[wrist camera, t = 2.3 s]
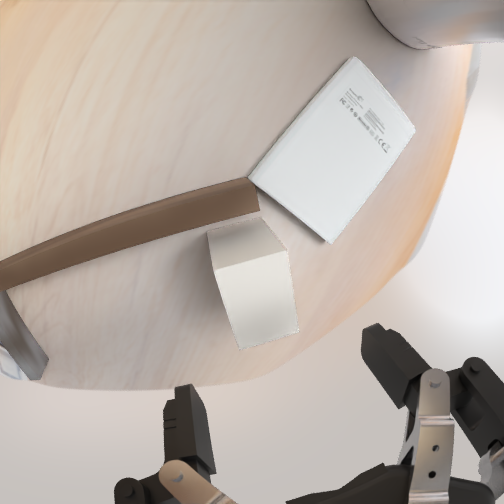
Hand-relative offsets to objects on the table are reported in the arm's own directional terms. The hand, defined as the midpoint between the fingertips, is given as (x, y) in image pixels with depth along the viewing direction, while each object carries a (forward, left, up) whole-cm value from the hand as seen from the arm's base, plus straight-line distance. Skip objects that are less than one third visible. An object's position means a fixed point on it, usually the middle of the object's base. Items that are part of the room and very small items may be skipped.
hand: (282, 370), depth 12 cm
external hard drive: (-7, +9, -12) cm, 16 cm away
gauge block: (0, 0, -11) cm, 11 cm away
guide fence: (-1, -11, -11) cm, 15 cm away
